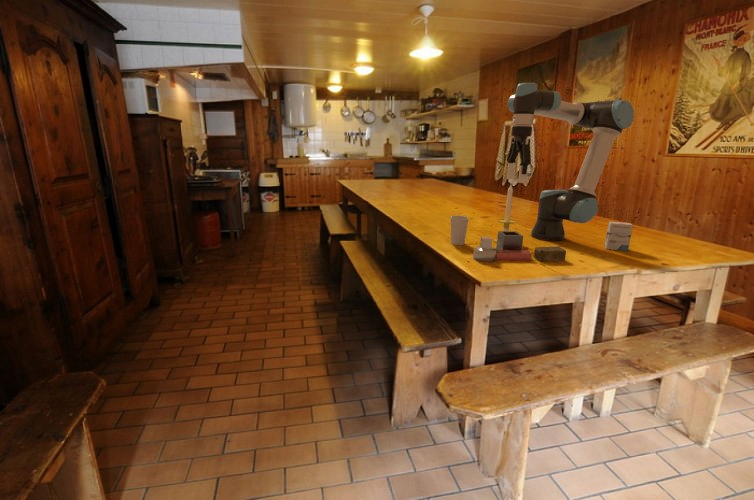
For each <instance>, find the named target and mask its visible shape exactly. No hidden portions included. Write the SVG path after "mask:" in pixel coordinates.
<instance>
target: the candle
mask: <svg viewBox="0 0 754 500" xmlns="http://www.w3.org/2000/svg"><path fill="white" fill-rule="evenodd" d="M513 191H514V189H513V186H512V184H510V185H509V187H508V189H507V193H506V204H505V213H504V214H505V215H504V218H500V219H497V222H498V223H501V224H503V228H502V229H503V230H502V231H510V225H511V224H512V225H513V224H516V223H518V221H517V220H515V219H510V218H511V210H512V201H513ZM493 242H495V243H497V238H494V239H493Z"/></svg>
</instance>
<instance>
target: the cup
mask: <svg viewBox="0 0 754 500" xmlns="http://www.w3.org/2000/svg"><path fill="white" fill-rule="evenodd" d="M469 219H470V218H469V216H464V215H451V216H450V244H451V245H454V246H463V245H465V244H466V243H465V242H466V237H467V232H468V231H467V230H468V225H469Z"/></svg>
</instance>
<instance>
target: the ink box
mask: <svg viewBox="0 0 754 500" xmlns="http://www.w3.org/2000/svg"><path fill="white" fill-rule="evenodd" d="M607 225H608V226H607V231H606V237H605V240H604V241H605V242H604V248H605V249H606V250H609V249H611V250H612V251H620V250H622V252H628V251H629V248H630V242H631V240H632V239H631V237H632V232H633V229H634V228H633V227H634V225H633V224H632V223H630V222H618V221H608V224H607Z"/></svg>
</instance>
